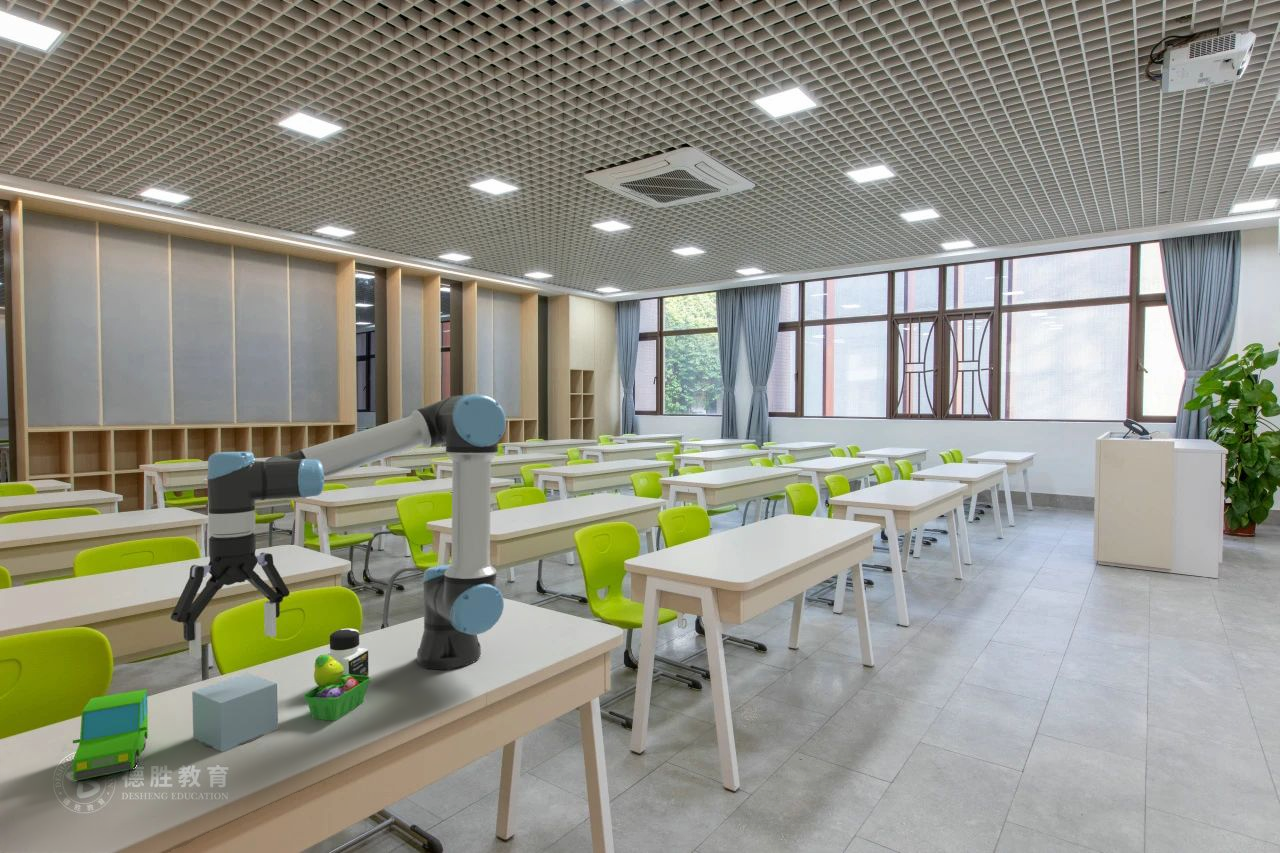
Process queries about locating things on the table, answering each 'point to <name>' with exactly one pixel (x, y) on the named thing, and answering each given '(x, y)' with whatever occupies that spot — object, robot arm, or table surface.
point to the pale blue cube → (234, 711)
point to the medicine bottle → (349, 652)
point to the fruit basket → (334, 690)
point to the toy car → (111, 734)
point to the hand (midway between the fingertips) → (234, 645)
